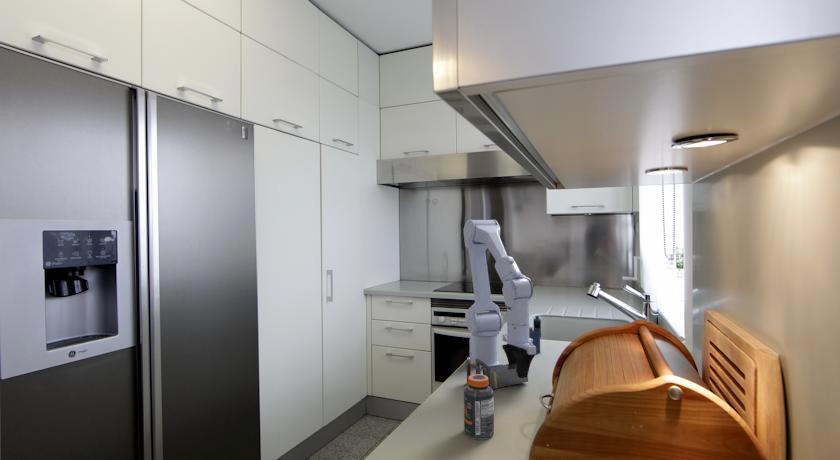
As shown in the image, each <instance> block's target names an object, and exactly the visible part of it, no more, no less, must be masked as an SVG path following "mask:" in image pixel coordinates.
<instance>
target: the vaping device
mask: <svg viewBox="0 0 840 460" xmlns="http://www.w3.org/2000/svg"><path fill="white" fill-rule="evenodd" d="M541 337H542V319H541V318H540V317H539V315H535V318H533V327H531V326H529V338H531V339H533V342H532V344H533V345H534V346H536V354H541Z"/></svg>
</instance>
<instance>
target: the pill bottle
mask: <svg viewBox="0 0 840 460" xmlns="http://www.w3.org/2000/svg"><path fill="white" fill-rule="evenodd" d="M488 384H489V382H488V377H487V376H485V375H483V374H482V373H481V374H476V373H475V374H471V375H470V376H469V377H468V384H467V386H465V387H464V389H463V431H464V433H465V435H466V436H467V437H469V438H471V439H475V440H487V439H490V438H492V437H493V436H494V434H495V415H494V413H495V412H494V411H495V409H494V408H495V407H494V406H495V405H494V390H493V389H492V388H491V387H489V386H488Z"/></svg>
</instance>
